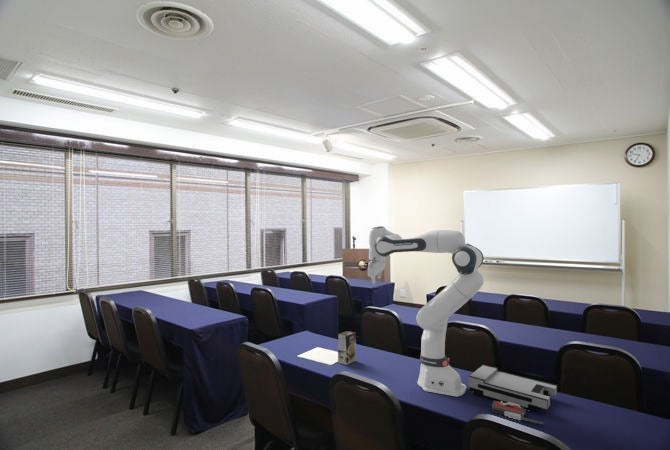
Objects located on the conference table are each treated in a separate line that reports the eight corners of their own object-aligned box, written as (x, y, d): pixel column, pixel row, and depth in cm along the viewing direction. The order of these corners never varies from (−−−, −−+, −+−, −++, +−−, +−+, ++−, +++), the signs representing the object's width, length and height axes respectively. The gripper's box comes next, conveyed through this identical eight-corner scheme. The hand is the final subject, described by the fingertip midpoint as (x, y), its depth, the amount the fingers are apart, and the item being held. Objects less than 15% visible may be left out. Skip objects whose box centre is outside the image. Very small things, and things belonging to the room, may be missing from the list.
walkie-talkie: (487, 414, 151) (543, 428, 141) (487, 403, 151) (543, 417, 141) (491, 405, 159) (544, 419, 148) (491, 395, 159) (544, 407, 148)
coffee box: (346, 365, 203) (347, 335, 203) (337, 362, 206) (337, 333, 207) (356, 360, 210) (356, 332, 210) (346, 358, 214) (347, 330, 214)
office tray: (547, 418, 148) (547, 397, 149) (468, 394, 169) (468, 376, 169) (557, 400, 164) (557, 382, 164) (483, 380, 185) (483, 364, 185)
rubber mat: (350, 355, 219) (350, 354, 219) (331, 365, 202) (331, 364, 202) (317, 347, 232) (317, 347, 232) (297, 356, 215) (297, 355, 215)
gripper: (376, 261, 189) (375, 286, 191) (388, 252, 207) (387, 276, 210) (364, 259, 192) (364, 285, 194) (377, 251, 210) (377, 275, 212)
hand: (376, 280), depth 202 cm, fingers open, 8 cm apart
